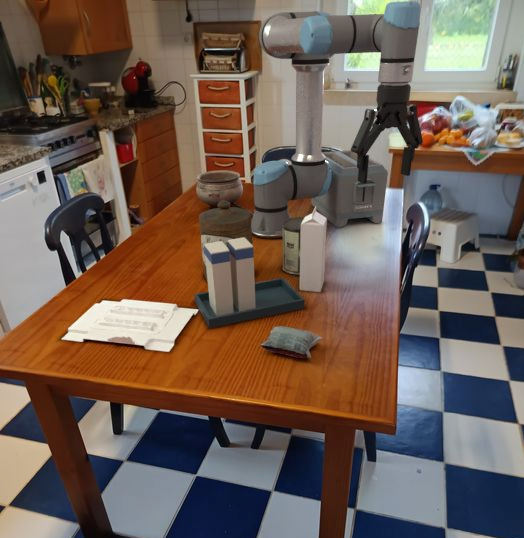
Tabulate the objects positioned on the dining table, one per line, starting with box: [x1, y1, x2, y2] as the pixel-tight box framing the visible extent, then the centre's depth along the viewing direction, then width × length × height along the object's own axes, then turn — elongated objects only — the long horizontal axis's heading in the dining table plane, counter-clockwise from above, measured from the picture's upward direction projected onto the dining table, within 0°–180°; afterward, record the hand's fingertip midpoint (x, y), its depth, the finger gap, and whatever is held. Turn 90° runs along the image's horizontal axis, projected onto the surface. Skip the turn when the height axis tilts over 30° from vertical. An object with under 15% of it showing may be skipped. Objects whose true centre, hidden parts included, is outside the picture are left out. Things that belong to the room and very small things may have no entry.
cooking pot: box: [195, 169, 244, 209], centre depth 198 cm, size 25×19×12 cm
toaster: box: [310, 149, 389, 229], centre depth 182 cm, size 19×33×20 cm, turn 14°
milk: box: [298, 207, 328, 293], centre depth 130 cm, size 6×6×22 cm
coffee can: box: [282, 216, 305, 276], centre depth 143 cm, size 10×10×14 cm
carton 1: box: [204, 241, 234, 316], centre depth 121 cm, size 7×5×17 cm
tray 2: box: [61, 298, 199, 353], centre depth 121 cm, size 20×28×4 cm
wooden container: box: [198, 200, 254, 282], centre depth 138 cm, size 15×15×22 cm
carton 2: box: [227, 237, 256, 311], centre depth 123 cm, size 7×5×17 cm
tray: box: [193, 277, 306, 329], centre depth 127 cm, size 15×26×3 cm, turn 111°
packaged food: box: [259, 325, 323, 359], centre depth 109 cm, size 9×12×5 cm
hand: (384, 178), depth 124 cm, fingers open, 13 cm apart
